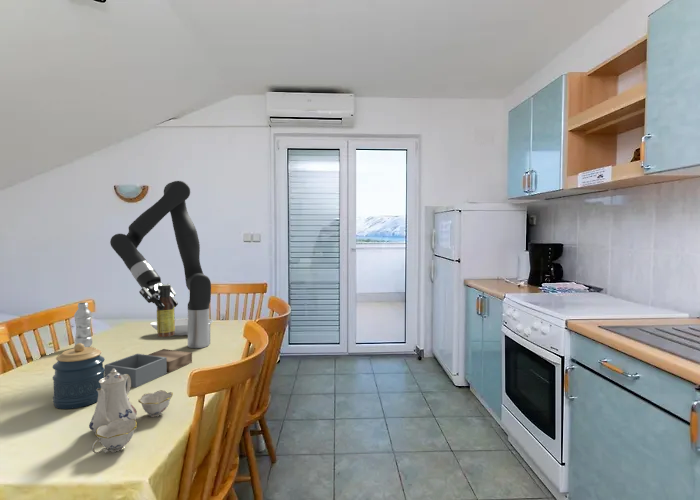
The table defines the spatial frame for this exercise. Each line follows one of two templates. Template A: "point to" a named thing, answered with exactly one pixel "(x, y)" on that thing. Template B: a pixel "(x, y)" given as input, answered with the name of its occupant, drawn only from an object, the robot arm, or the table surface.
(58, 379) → the canister
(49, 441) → the table surface
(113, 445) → the chinaware
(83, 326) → the plastic bottle
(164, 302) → the sauce bottle
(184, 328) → the bowl
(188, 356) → the block
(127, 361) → the tub
